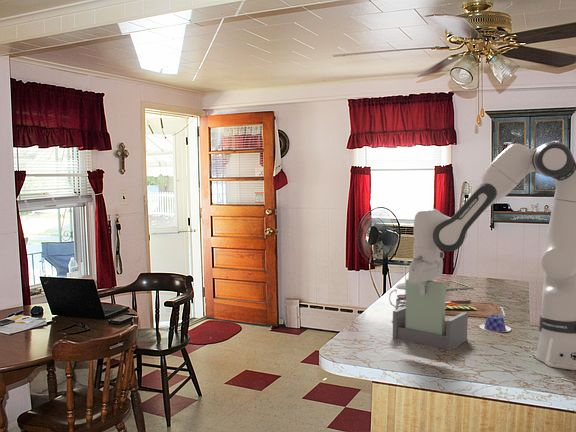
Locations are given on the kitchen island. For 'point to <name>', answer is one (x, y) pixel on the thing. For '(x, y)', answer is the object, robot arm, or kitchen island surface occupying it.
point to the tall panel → (426, 307)
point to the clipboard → (459, 284)
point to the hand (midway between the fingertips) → (425, 293)
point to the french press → (401, 297)
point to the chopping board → (471, 308)
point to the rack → (452, 338)
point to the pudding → (495, 324)
